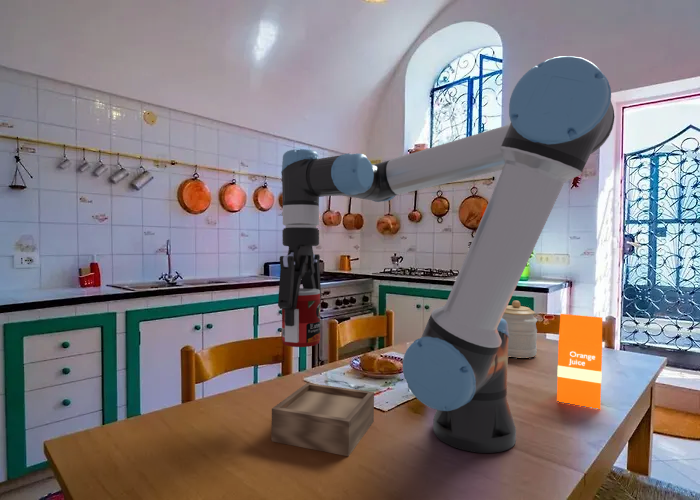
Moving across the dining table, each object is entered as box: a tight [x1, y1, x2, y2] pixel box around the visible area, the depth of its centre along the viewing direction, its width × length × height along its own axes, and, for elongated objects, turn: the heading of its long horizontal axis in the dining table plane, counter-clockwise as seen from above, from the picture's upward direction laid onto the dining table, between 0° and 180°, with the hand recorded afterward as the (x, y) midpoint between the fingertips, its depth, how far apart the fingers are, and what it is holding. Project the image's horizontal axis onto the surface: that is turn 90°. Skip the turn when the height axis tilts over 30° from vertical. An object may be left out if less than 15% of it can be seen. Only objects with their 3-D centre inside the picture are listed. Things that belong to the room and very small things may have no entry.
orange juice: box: [556, 313, 603, 410], centre depth 100 cm, size 8×9×20 cm
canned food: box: [281, 287, 321, 348], centre depth 88 cm, size 8×8×11 cm
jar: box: [502, 300, 538, 358], centre depth 140 cm, size 13×13×18 cm
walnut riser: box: [270, 382, 375, 457], centre depth 83 cm, size 15×15×6 cm
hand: (301, 337), depth 89 cm, fingers closed on canned food, 8 cm apart
